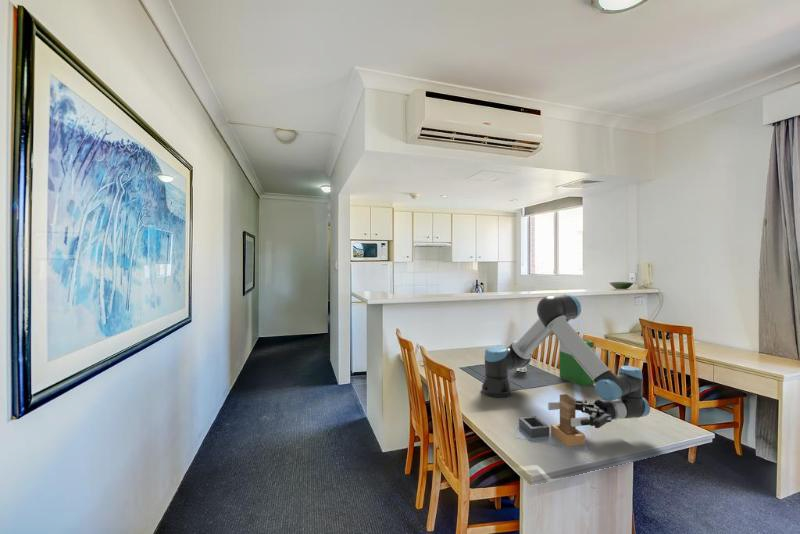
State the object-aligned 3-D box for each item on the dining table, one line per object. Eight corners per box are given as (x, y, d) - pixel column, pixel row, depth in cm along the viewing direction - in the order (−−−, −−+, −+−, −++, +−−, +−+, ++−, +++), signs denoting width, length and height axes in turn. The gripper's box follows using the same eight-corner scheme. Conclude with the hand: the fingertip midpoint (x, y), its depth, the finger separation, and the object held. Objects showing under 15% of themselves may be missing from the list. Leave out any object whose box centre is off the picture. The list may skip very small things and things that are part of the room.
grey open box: (531, 437, 128) (531, 428, 128) (519, 426, 137) (518, 417, 137) (549, 436, 129) (549, 427, 129) (535, 424, 138) (535, 416, 138)
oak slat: (568, 442, 124) (568, 399, 124) (559, 435, 129) (559, 394, 129) (575, 441, 125) (575, 399, 124) (566, 435, 130) (566, 394, 129)
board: (516, 440, 128) (516, 437, 128) (518, 424, 141) (518, 421, 141) (587, 454, 118) (587, 451, 118) (583, 435, 131) (583, 432, 131)
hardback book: (559, 375, 200) (559, 336, 199) (570, 374, 202) (569, 335, 201) (582, 386, 183) (582, 342, 182) (593, 384, 184) (593, 341, 184)
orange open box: (566, 446, 122) (566, 436, 122) (551, 433, 131) (551, 424, 131) (584, 444, 123) (584, 435, 123) (568, 431, 132) (568, 422, 132)
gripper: (636, 435, 117) (582, 441, 114) (586, 405, 142) (540, 409, 138) (636, 414, 117) (582, 419, 114) (586, 387, 142) (540, 391, 138)
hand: (559, 413), depth 126 cm, fingers open, 13 cm apart
